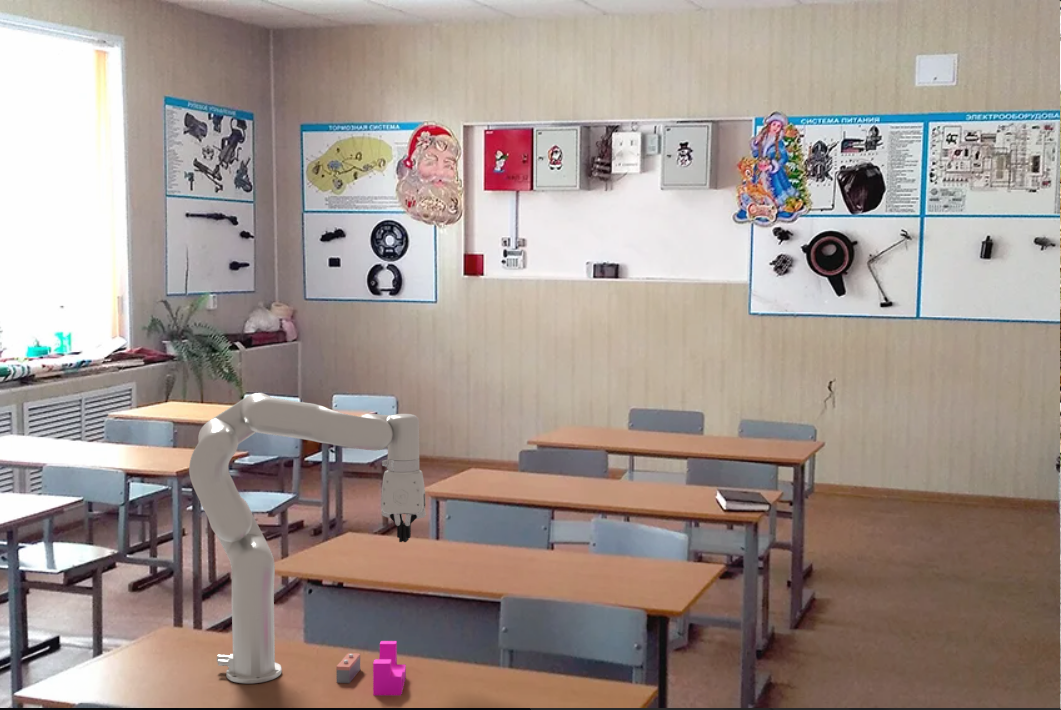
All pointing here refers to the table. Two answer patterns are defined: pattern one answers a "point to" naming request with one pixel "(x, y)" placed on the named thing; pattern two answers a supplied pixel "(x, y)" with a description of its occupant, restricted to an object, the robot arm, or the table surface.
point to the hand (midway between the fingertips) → (404, 540)
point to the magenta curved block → (388, 671)
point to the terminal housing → (348, 668)
